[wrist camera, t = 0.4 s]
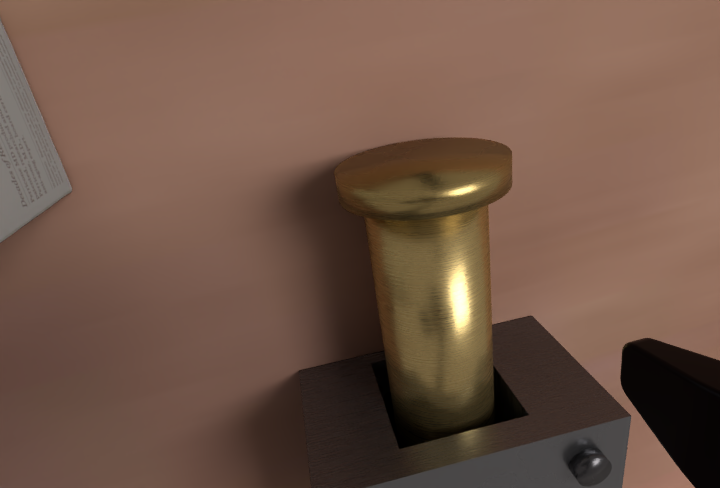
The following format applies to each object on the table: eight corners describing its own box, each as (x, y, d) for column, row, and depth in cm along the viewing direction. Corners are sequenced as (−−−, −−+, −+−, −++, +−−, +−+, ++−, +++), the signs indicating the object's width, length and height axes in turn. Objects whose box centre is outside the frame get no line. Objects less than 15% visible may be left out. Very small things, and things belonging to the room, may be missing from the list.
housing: (530, 431, 27) (621, 562, 20) (327, 485, 26) (350, 646, 19) (532, 315, 24) (641, 425, 17) (299, 370, 22) (314, 515, 15)
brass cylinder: (482, 420, 26) (540, 521, 20) (376, 448, 25) (407, 559, 20) (468, 129, 19) (549, 163, 14) (324, 156, 18) (349, 203, 13)
